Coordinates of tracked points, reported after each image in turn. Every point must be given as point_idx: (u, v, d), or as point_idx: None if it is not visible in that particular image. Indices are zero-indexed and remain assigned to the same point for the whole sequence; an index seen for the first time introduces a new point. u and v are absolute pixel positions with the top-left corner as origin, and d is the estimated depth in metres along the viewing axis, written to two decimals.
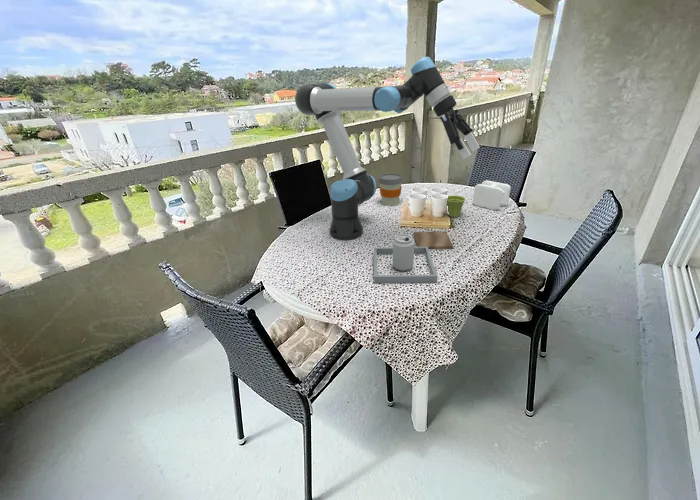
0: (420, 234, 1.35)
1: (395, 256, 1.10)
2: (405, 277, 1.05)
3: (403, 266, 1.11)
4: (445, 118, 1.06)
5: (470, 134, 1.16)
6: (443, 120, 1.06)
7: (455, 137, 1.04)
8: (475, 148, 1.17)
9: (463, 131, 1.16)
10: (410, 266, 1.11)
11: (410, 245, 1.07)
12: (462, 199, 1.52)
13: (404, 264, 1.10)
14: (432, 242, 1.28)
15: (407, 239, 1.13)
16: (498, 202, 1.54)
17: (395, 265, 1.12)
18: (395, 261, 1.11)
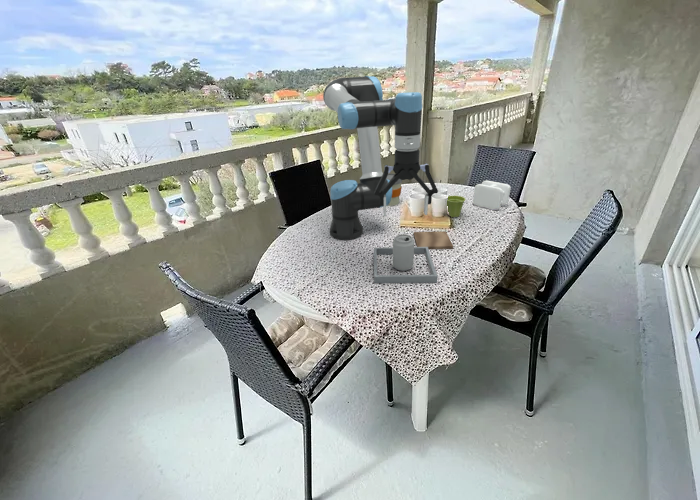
0: (420, 234, 1.35)
1: (395, 256, 1.10)
2: (405, 277, 1.05)
3: (403, 266, 1.11)
4: (384, 170, 0.98)
5: (425, 197, 1.01)
6: (384, 170, 0.99)
7: (374, 193, 1.01)
8: (424, 211, 1.04)
9: None
10: (410, 266, 1.11)
11: (410, 245, 1.07)
12: (462, 199, 1.52)
13: (405, 264, 1.10)
14: (432, 242, 1.28)
15: (407, 239, 1.13)
16: (498, 202, 1.54)
17: (395, 265, 1.12)
18: (396, 261, 1.11)
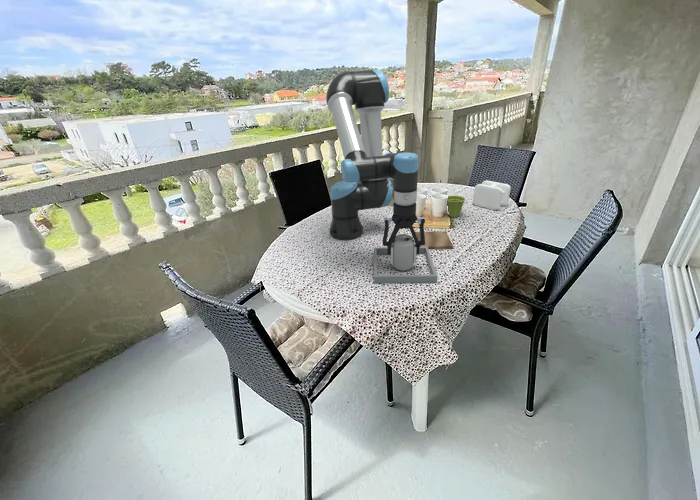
0: None
1: (395, 256, 1.10)
2: (405, 277, 1.05)
3: (403, 266, 1.11)
4: None
5: (414, 248, 1.10)
6: None
7: (383, 244, 1.10)
8: (413, 260, 1.13)
9: None
10: (410, 266, 1.11)
11: (410, 245, 1.07)
12: (462, 199, 1.52)
13: (405, 264, 1.10)
14: (432, 242, 1.28)
15: (407, 239, 1.13)
16: (498, 202, 1.54)
17: (395, 265, 1.12)
18: (395, 261, 1.11)
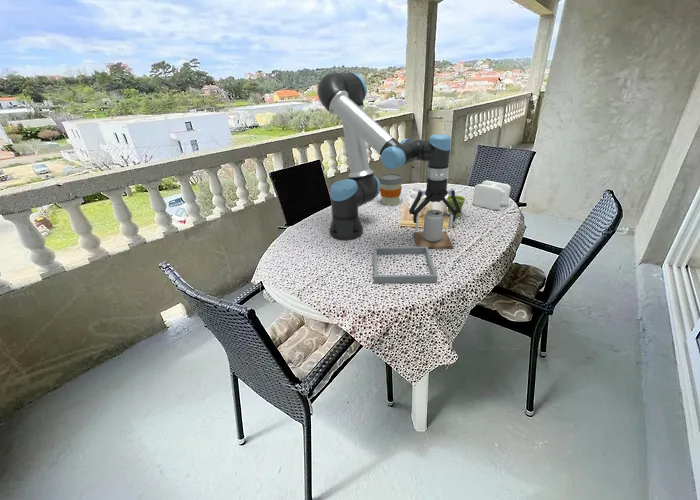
0: (420, 234, 1.35)
1: (426, 228, 1.26)
2: (405, 277, 1.05)
3: (433, 238, 1.26)
4: (418, 194, 1.22)
5: (450, 216, 1.24)
6: None
7: (409, 212, 1.25)
8: (449, 227, 1.28)
9: None
10: (439, 237, 1.27)
11: (440, 218, 1.23)
12: (462, 199, 1.52)
13: (435, 235, 1.26)
14: (432, 242, 1.28)
15: (436, 214, 1.29)
16: (498, 202, 1.54)
17: (426, 237, 1.28)
18: (427, 233, 1.27)
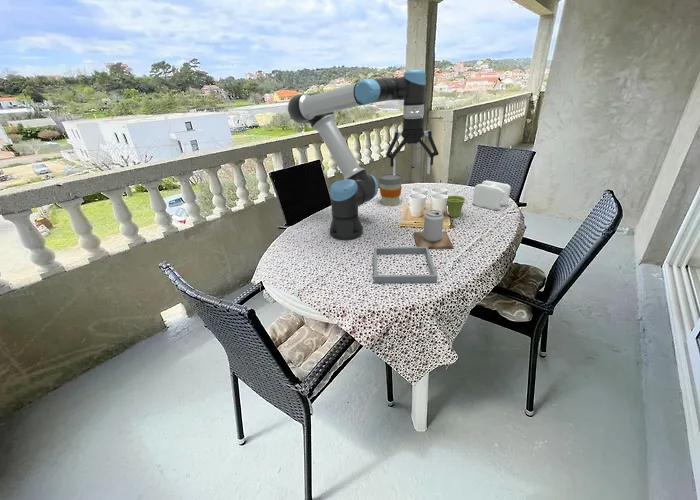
0: (420, 234, 1.35)
1: (426, 228, 1.26)
2: (405, 277, 1.05)
3: (433, 238, 1.26)
4: (394, 135, 1.20)
5: (428, 158, 1.22)
6: (394, 135, 1.20)
7: (386, 155, 1.23)
8: (427, 172, 1.26)
9: None
10: (439, 237, 1.27)
11: (440, 218, 1.23)
12: (462, 199, 1.52)
13: (435, 235, 1.26)
14: (432, 242, 1.28)
15: (436, 214, 1.29)
16: (498, 202, 1.54)
17: (426, 237, 1.28)
18: (427, 233, 1.27)
